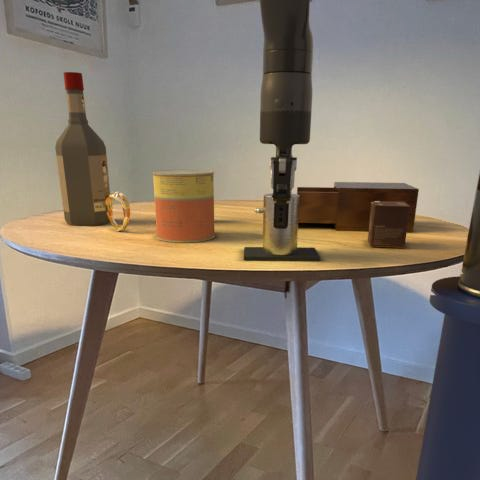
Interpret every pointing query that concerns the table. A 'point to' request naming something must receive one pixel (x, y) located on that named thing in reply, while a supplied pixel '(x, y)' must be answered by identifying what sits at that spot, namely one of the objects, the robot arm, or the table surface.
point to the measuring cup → (279, 239)
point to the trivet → (301, 255)
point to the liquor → (81, 162)
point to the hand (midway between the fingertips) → (281, 224)
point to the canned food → (184, 205)
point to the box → (388, 224)
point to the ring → (125, 206)
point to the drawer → (317, 204)
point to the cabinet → (359, 202)
